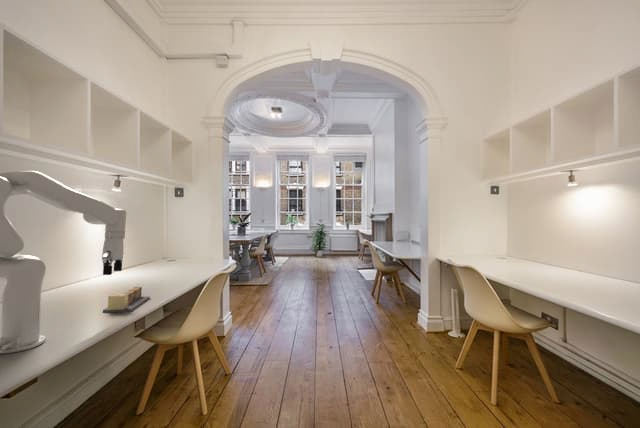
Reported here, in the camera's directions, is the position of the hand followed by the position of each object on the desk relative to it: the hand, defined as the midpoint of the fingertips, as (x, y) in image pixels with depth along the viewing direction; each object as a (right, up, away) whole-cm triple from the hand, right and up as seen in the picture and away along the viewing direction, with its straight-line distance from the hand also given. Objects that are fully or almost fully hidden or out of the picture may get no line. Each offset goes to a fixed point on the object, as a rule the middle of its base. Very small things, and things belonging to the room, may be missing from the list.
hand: (112, 272), depth 131 cm
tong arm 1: (-5, -18, +19) cm, 27 cm away
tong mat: (-3, -20, +15) cm, 25 cm away
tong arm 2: (-3, -18, +19) cm, 27 cm away
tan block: (-1, -18, +6) cm, 19 cm away
